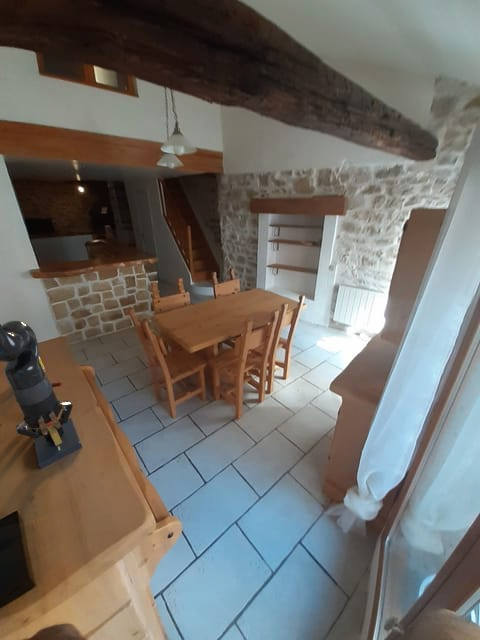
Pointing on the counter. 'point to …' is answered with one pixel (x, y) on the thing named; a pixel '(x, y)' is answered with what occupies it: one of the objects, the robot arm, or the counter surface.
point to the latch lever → (56, 384)
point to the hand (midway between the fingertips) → (55, 438)
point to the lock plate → (53, 453)
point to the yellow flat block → (53, 433)
